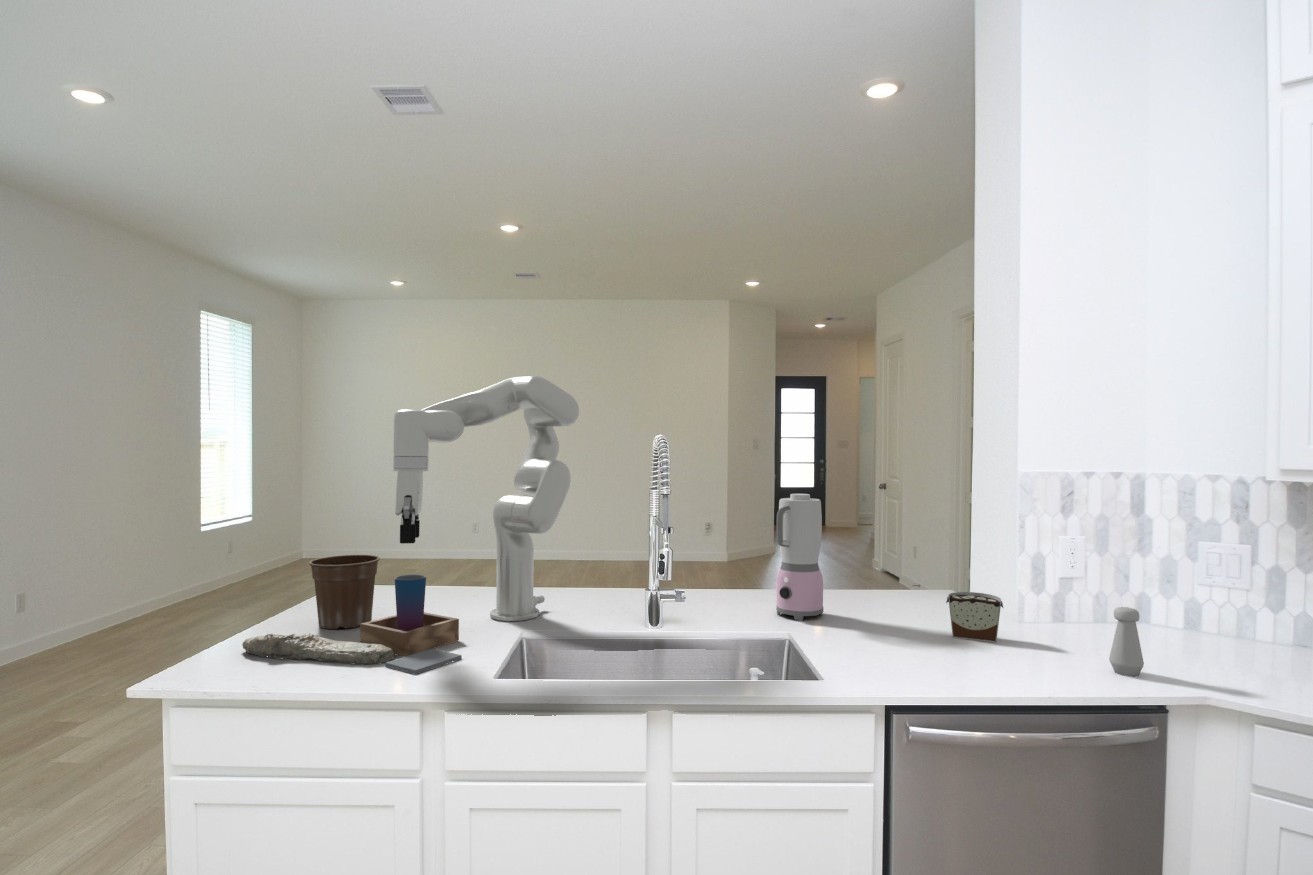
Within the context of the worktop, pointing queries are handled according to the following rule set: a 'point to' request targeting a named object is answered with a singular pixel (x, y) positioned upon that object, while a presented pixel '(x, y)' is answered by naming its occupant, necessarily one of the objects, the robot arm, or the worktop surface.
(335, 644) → the long grey stone
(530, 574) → the robot arm
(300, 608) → the worktop surface
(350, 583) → the plant pot
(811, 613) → the blender
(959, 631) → the food container
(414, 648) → the open wooden box
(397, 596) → the cup
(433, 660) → the slate mat
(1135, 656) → the salt shaker
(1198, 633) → the worktop surface
